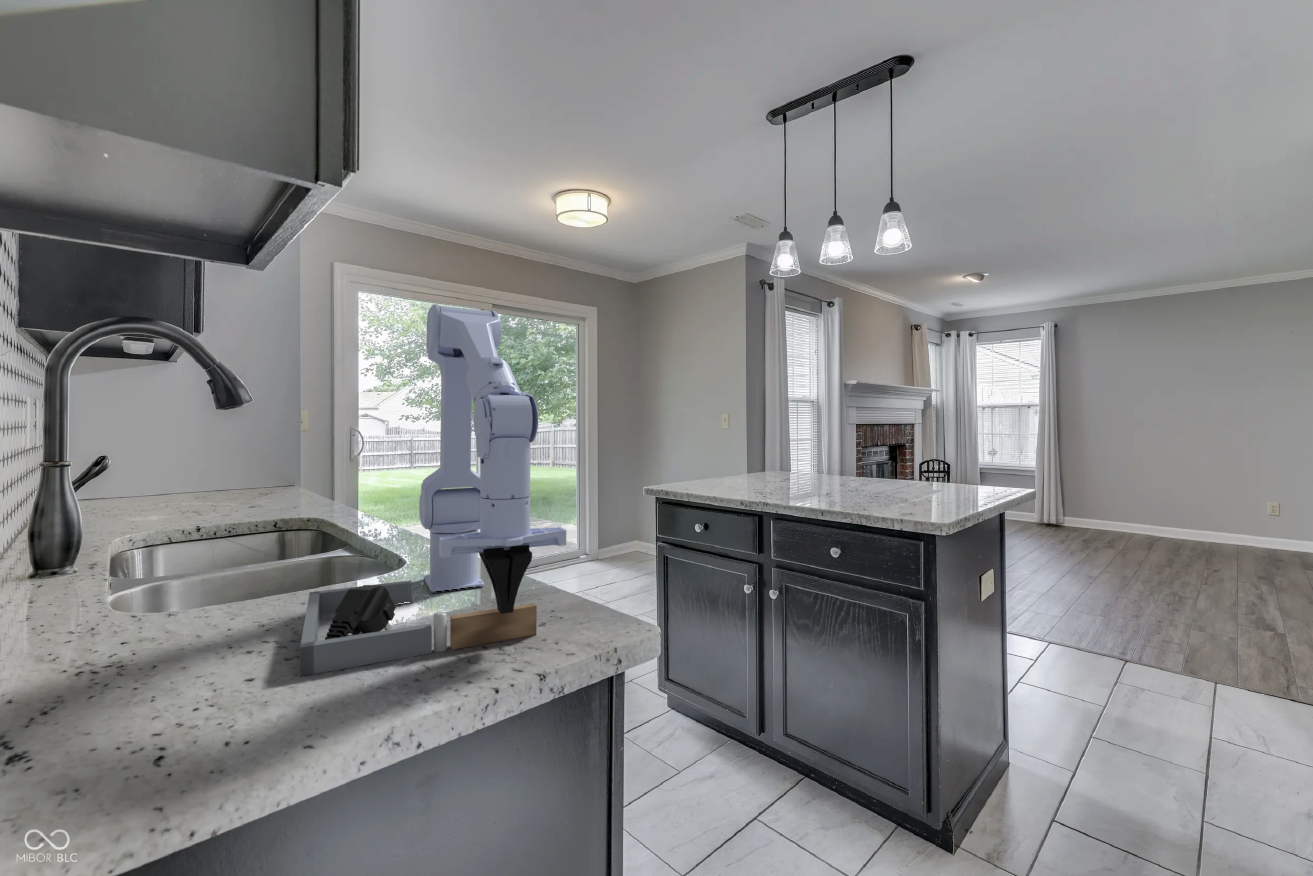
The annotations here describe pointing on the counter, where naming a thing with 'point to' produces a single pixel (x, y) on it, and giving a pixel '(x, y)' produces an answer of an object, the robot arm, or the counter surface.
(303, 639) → the grey rectangular frame
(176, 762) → the counter surface
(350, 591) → the power plug
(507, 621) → the gate
